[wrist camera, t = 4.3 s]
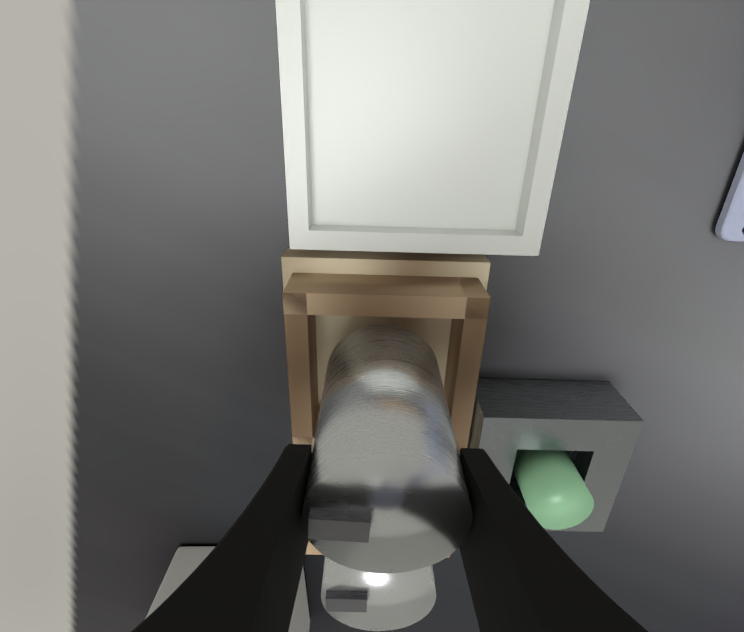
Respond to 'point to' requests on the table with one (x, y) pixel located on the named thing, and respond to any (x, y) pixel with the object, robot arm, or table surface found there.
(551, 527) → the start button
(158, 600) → the milk carton
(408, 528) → the cylinder
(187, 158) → the table surface
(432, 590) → the cylinder
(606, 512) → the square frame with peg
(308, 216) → the square tray
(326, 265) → the wooden compartment tray
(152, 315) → the table surface
